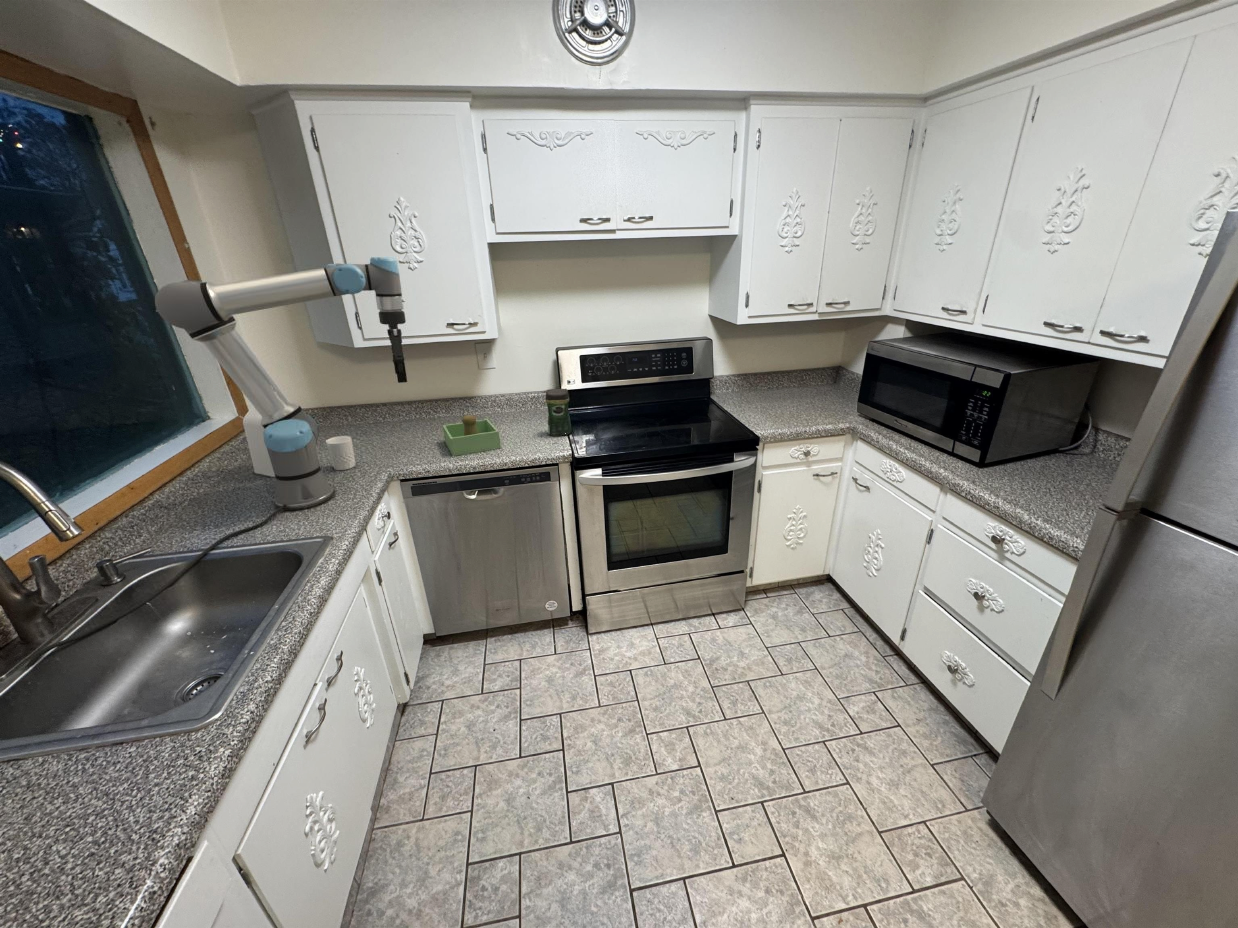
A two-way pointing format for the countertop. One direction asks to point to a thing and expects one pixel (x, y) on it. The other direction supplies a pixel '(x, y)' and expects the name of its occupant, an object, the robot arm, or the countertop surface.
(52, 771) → the countertop surface
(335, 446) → the white cup
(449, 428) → the box
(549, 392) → the coffee jar
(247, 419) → the milk
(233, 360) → the robot arm
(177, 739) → the countertop surface
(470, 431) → the cork
